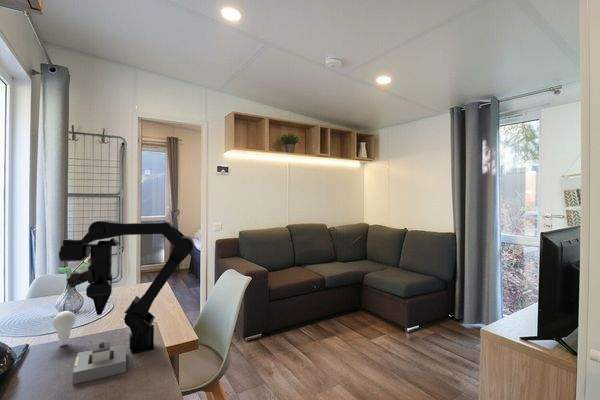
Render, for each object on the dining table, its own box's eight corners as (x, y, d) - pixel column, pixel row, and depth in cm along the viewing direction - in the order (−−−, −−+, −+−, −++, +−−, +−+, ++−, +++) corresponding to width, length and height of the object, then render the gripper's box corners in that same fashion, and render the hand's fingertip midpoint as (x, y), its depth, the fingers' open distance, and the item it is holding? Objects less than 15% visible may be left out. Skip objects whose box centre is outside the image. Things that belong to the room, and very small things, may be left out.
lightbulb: (62, 350, 98) (63, 315, 98) (46, 348, 99) (47, 313, 99) (80, 342, 104) (80, 309, 104) (65, 340, 105) (65, 307, 105)
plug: (109, 362, 91) (110, 338, 91) (109, 369, 87) (109, 344, 87) (92, 366, 89) (93, 341, 89) (91, 373, 85) (92, 347, 85)
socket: (124, 353, 96) (125, 343, 96) (125, 372, 86) (126, 360, 86) (77, 363, 90) (77, 352, 90) (72, 384, 80) (72, 371, 80)
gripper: (72, 257, 101) (71, 305, 101) (64, 268, 85) (63, 325, 85) (112, 255, 107) (111, 300, 107) (112, 264, 91) (110, 318, 91)
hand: (99, 310), depth 97 cm, fingers open, 9 cm apart
